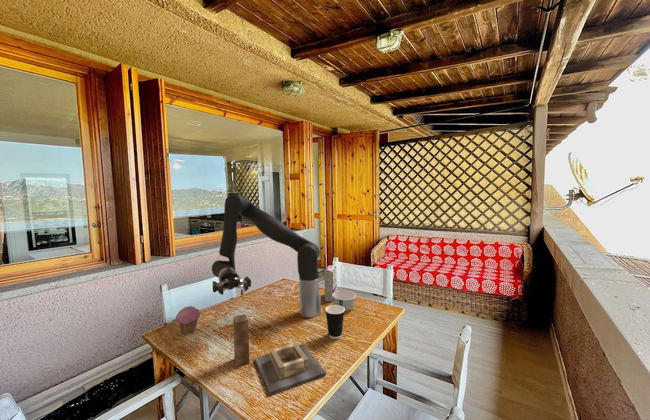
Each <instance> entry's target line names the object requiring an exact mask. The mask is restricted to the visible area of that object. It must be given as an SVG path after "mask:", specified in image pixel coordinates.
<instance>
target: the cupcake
mask: <svg viewBox="0 0 650 420" xmlns="http://www.w3.org/2000/svg"><path fill="white" fill-rule="evenodd" d="M200 317H201V312H200V310H199V309H198V308H196V307H195V306H193V305H188V306H186V307H185V306H184V307H183V308H182V309H180V310H179V311H178V312H177V314H176V316H175V321H176V322H177V323H178V324H179V328H180V332H181V333H184V334H189V333H191V332H193V331H196V329H197V325H198V321H199V320H198V319H199V318H200Z"/></svg>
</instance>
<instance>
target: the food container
mask: <svg viewBox="0 0 650 420" xmlns="http://www.w3.org/2000/svg"><path fill="white" fill-rule="evenodd" d="M332 296H333V299H334V302H333V305H339V306H342V307H344V308H345V311H346V312H349V311H348V310H351V309H353V310H354V307H355V302H356V297H357V294H356V293H355V292H353V291H351V290H337V291H336V292H334V293H333V294H332ZM351 311H352V310H351Z"/></svg>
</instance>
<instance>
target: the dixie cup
mask: <svg viewBox="0 0 650 420" xmlns="http://www.w3.org/2000/svg"><path fill="white" fill-rule="evenodd" d="M324 311H325V315H326V322H327V324H326V325H327V331H328V335H329V338H330V339H332V340H338V339H340V338H341V337H342V335H343V325H344V318H345V312H344V311H345V308H344V307H342V306H339V305H334V304H330V305H327V306H326V307H325V308H324Z"/></svg>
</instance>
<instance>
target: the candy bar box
mask: <svg viewBox="0 0 650 420" xmlns="http://www.w3.org/2000/svg"><path fill="white" fill-rule="evenodd" d="M323 272H324V275H323V276H324V301H325V302H331V303H334V299H333V296H332V294H333V293H334V292H336V291H338V287H337V286H338V285H337V282H338V281H337V280H338V279H337V265H332V264H331V265H330V264H329V265H327V267H326V269H324V271H323Z"/></svg>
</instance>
